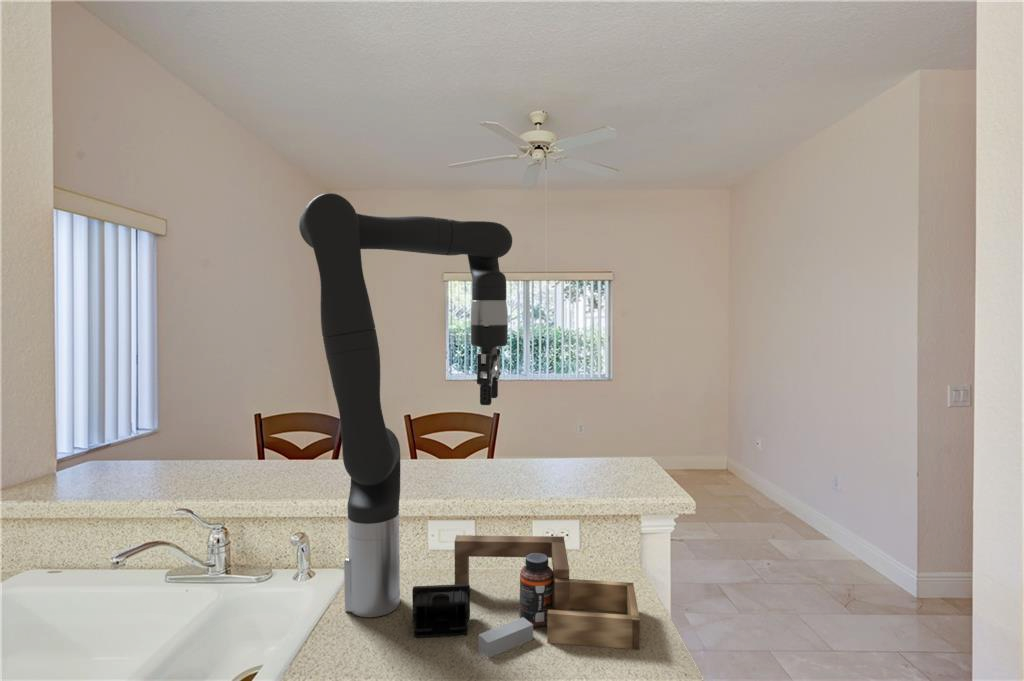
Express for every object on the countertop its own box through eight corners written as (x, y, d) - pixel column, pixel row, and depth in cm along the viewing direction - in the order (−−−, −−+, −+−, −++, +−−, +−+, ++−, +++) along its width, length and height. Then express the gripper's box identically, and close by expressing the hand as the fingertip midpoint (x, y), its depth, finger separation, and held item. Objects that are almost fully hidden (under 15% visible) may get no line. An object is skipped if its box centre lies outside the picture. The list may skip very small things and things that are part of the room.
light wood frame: (547, 642, 94) (547, 613, 94) (551, 603, 107) (551, 577, 106) (639, 649, 92) (639, 619, 92) (632, 609, 105) (633, 582, 104)
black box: (469, 613, 103) (469, 577, 103) (470, 636, 96) (470, 597, 96) (413, 616, 102) (413, 579, 102) (410, 639, 95) (410, 600, 95)
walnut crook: (445, 631, 97) (445, 571, 97) (456, 586, 113) (456, 535, 112) (569, 633, 97) (569, 573, 96) (563, 588, 112) (563, 536, 112)
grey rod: (523, 632, 98) (523, 617, 97) (533, 640, 95) (533, 624, 95) (478, 651, 92) (478, 634, 92) (487, 659, 90) (487, 642, 90)
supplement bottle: (549, 630, 98) (549, 566, 97) (515, 625, 99) (516, 562, 99) (556, 612, 103) (556, 552, 103) (524, 608, 105) (524, 548, 104)
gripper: (477, 321, 124) (477, 395, 125) (464, 323, 110) (464, 407, 111) (511, 321, 123) (511, 396, 124) (502, 324, 109) (502, 408, 110)
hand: (489, 401), depth 117 cm, fingers open, 8 cm apart
